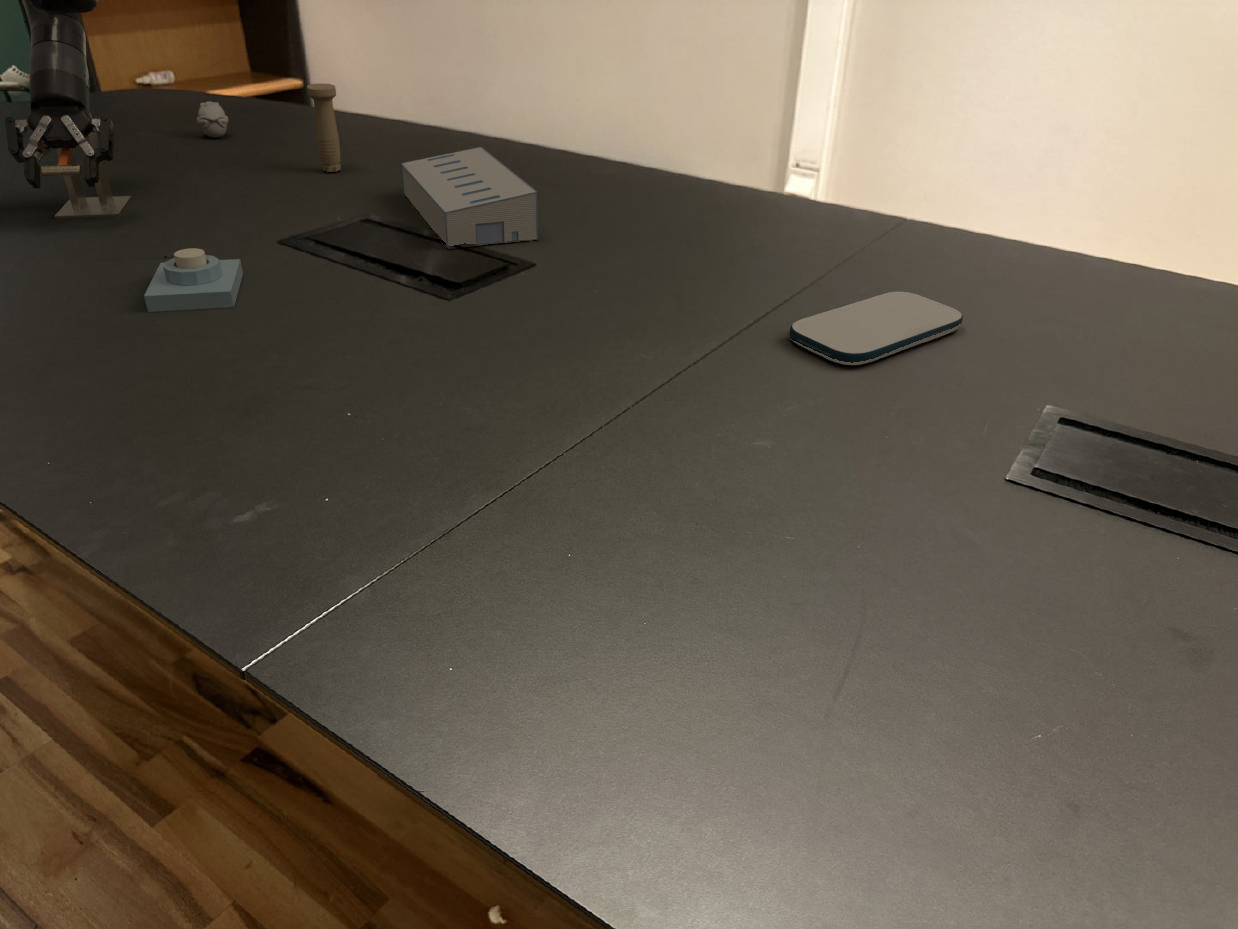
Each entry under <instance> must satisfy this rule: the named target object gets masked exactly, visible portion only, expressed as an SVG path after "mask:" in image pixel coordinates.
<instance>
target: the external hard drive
mask: <svg viewBox="0 0 1238 929" xmlns="http://www.w3.org/2000/svg"><path fill="white" fill-rule="evenodd" d="M963 320H964V316H963V314H962V312H961V311H960V310H958V309H956V308H954V307H952V306H949V305H947V304H944V303H941V302H939V301H936V300H934V299H931V298H928V297H926V296H923V295H920V294H917V293H913V292H909V291H898V290H897V291H889V292H884V293H880V294H878V295H874V296H871V297H868V298H865V299H861V300H858V301H855V302H852V303H849V304H844V305H842V306H839V307H835V308H832V309H829V310H825V311H823V312H820V313H816V314H812V315H809V316H806V317H803V318H800V319H798V320H796V321H794V322H793V323H792V324H791V326H790V327H789V332H788V333H789V334H788V335H790V337H789V339H790V338H791V339H792V340H793V341H796V342H798V343H800V344H802V345H803V346H806V347H809V348H811V349H813V350H814V351H817V352H819V353H822V354H824V355H826V356H828V357H830V358H832V359H837V360H839V361H844V362H851V363H853V362H860V361H866V360H869V359H874V358H876V357H879V356H881V355H883V354H885V353H889V352H891V351H893V350H896V349H898V348H900V347H904V346H906V345H909V344H911V343H913V342H916V341H919V340H922V339H924V338H927V337H930V336H932V335H936V334H938V333H941V332H943V331H946V330H949V329H952V328H954V327H956V326H958V325H959V324H961V323H962V324H963ZM962 324H961V325H962ZM810 338H811V339H810Z"/></svg>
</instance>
